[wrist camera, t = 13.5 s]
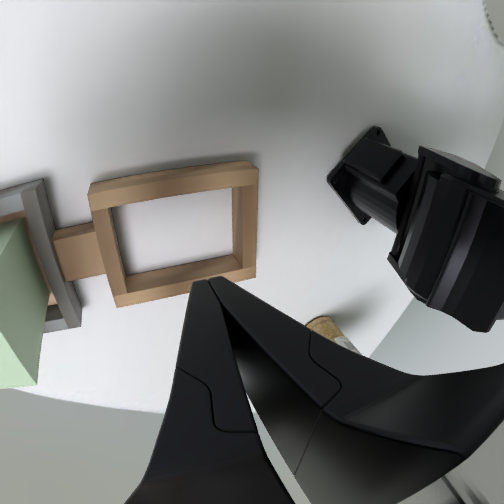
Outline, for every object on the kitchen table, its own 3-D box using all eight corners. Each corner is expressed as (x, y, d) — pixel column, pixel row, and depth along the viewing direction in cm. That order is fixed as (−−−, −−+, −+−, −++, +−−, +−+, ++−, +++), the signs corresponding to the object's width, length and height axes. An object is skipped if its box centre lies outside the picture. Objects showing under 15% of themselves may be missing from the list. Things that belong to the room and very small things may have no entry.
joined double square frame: (246, 145, 19) (258, 152, 18) (245, 273, 24) (255, 288, 23) (-51, 208, 12) (-64, 221, 11) (-2, 323, 17) (-7, 341, 16)
